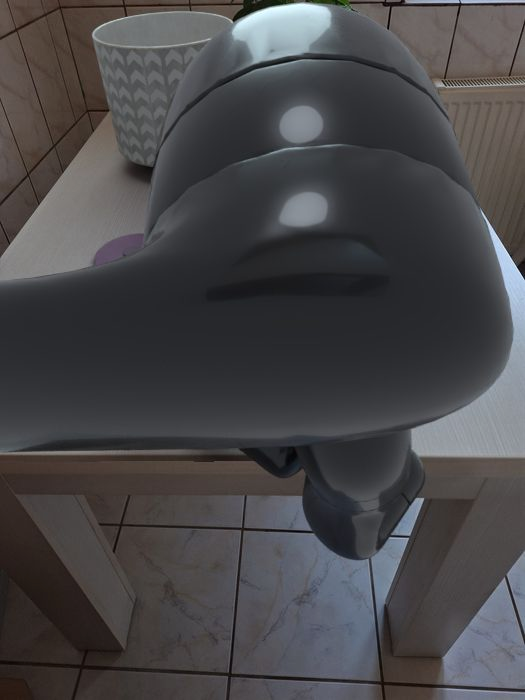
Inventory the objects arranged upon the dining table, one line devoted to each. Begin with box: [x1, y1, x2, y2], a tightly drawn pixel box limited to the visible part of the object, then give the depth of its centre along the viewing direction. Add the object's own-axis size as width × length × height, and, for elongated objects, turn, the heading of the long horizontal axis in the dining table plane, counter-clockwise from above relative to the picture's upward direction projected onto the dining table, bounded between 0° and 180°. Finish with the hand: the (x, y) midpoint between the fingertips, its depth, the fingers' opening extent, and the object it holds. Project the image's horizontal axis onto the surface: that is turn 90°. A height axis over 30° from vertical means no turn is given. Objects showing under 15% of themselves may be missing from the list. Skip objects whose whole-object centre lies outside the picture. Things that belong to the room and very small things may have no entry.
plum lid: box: [93, 233, 144, 266], centre depth 78 cm, size 12×12×2 cm
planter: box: [91, 11, 234, 168], centre depth 96 cm, size 25×25×24 cm
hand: (124, 322), depth 58 cm, fingers closed on beverage can, 6 cm apart
